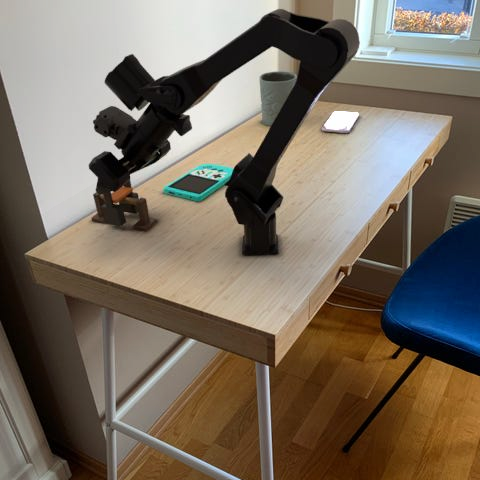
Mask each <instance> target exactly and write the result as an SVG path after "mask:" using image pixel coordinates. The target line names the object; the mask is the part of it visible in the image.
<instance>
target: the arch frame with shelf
mask: <svg viewBox="0 0 480 480" xmlns="http://www.w3.org/2000/svg"><path fill="white" fill-rule="evenodd" d="M126 165H127V164H126ZM126 165H125V166H126ZM103 195H104V201H105V204H104V205H102V206H101V208H102V212H103V216H104V220H105V223H104V224H105V225H109V226H116V227H123V226H124V225H125V224H127V220H126V219H127V218H126V214H125V213H127V214H132V215H133V214H134V215H138V209H137V205H133V204H127V203H121V202H119V201H121V200H122V199H123V198H124V197H130V198H136V199H140V196H139V193H138V192H134V189H133V187H132V182H131V179H130V180H129V181H128V182H127V183H126V184H125V185H124V186H123V187H121V188H120V189H119V190H117V191H116V192H113V191H111V192H108V193H105V194H103Z"/></svg>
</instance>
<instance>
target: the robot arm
mask: <svg viewBox="0 0 480 480" xmlns="http://www.w3.org/2000/svg"><path fill="white" fill-rule="evenodd" d="M360 44H361V41H360V36H359V32H358V30H357V28H356V26H354V24H353V23H352V22H351V21H349V20H347V19H343V18H338V19H333V20H331V21H329V20H325V19H322V18H319V17H313V16H309V15H303V14H299V13H298V14H297V13H294V12H291V11H288V10H287V9H285V8H284V9H283V8H277V9H274V10H272V11H269V12H268V13H266V14H265V15H263V16H262V17H261V18H260V20H258V22H256V23H254V24H253V25H251V27H249V28H248V29H246V30H245V31H244V32H242V33H240V34H239V35H238V36H236V37H235V38H234V39H232V40H230V41H229V42H228V43H226V44H225V45H223V46H222V47H221V48H220V49H218V50H216V51H215V52H214V53H212V54H210V55H209V56H207V58H205V59H203V60H200V61H197V62H195V63H193V64H190V65H188V66H185V67H183V68H181V69H179V70H177V71H174V72H173V73H171V74H169V75H163V76H161V77H159V78H157V79H156V80H155V79H154V77H153V76H152V75H151V74H150V73H149V72H148V71H147V69H146V68H145V67H144V66H143V65H142V64H141V62H140V60H139V59H138V58H137V57H136V55H135V54H133V53H131V54H128V55H125V56H124V58H123V59H122V61H120V62H119V63H118V64H117V65H116V66H115V67H113V69H112V70H111V71H109V72H108V73H107V75H106V76H105V79H104V85H106V87H107V88H108V89H109V90H110V91H111V92H112V93H113V94H114V95H115V96H116V97H117V98H118V99H119V100H120V102H121V103H122V104H123V105H124V106H125V107H126V108H127V109H128V110H129V111H130V112H132V111H134V109H136V111H139V112H140V111H141V110H143V109H144V108H145V107H146V108H145V110H144V111H143V112H142V114H141V115H140V116H139V118H138V119H137V120H136V119H135V118H134V117H133V116H132V115H131V114H129V113H128V112H126V111H124V110H122V109H120V108H119V107H117V106H115V105H110V106H108V107H105V108H104V109H102V110H100V111H99V112H98V114H97V115H96V116H95V119H93V120H92V124H93V130H94V131H95V132H96V134H98V135H100V136H102V137H103V138H108V137H109V138H110V139H112V140H114V141H115V142H114V143H113V146H114V147H115V148H116V149H118V150H121V151H120V152H121V155H122V156H123V157H121V158H119V159H118V158H117V157H116V155H115V154H113V153H112V151H106V150H105V151H103V152H101V153H99V154H98V155H96V156H94V157H93V158H92V159H91V160H90V162H89V163H88V169H89V170H90V172H92V174H93V175H94V176H95V177H96V178H97V181H96V187H95V193H96V192H97V193H98V194H99V195H102V194H105V193H108V192H111V193H113V192H116V191H117V190H119V189H120V188H121V187H124V185H125V184H126V183H127V182H128V181H129V180H130V181H131V175H132V174H134V173H137V172H139V171H141V170H143V169H145V168H147V167H150V166H152V165H154V164H156V163H157V162H159V161H160V160H162V159H163V158H164V157H165V156H167V154H169V152H170V151H171V150H172V147H171V142H170V140H168V139H169V138H170V137H171V136H172V134H173V133H174V132H175V133H177V134H178V136H180V137H183V136H185V135H186V134H187V133H189V132H190V131H192V130H193V125H192V121H191V116H190V115H189V114H185V113H186V112H188V111H189V110H191V109H192V108H194V107H195V106H197V105H199V104H200V103H201V102H202V101H204V100H205V99H206V98H207V97H208V96H209V95H210V94H211V92H213V91H214V90H215V88H216V87H217V86H218V85H219V83H220V82H222V81H223V80H224V79H226V78H227V77H228V76H230V75H231V74H233V73H234V72H237V70H239V69H241V68H242V67H243V66H245V65H246V64H248V63H250V62H251V61H252V60H255V58H257V57H258V56H260V55H262V54H263V53H264V52H266V51H268V50H270V49H271V48H274V49H278V50H280V51H281V52H283V53H284V54H286V55H288V56H289V57H290V58H292V59H294V60H297V61H299V65H298V69H297V74H296V76H297V79H296V82H295V85H294V87H293V88H292V90H291V92H290V94H289V96H288V97H287V99H286V101H285V103H284V104H283V106H282V108H281V110H280V111H279V113H278V115H277V117H276V118H275V120H274V122H273V124H272V125H271V126H269V128H268V131H267V133H266V134H265V136H264V138H263V139H262V141H261V142H260V145H259V147H258V148H257V150H256V151H255V154H254V155H253V154H251V153H250V152H249V153H247V154H246V155H244V156H243V158H242V159H241V160H239V162H238V163H236V164H235V166H234V167H233V168H234V169H233V172H232V175H231V177H230V179H229V180H228V181H227V182H226V183H225V184H224V185H223V186H225V187H226V189H225V192H224V197H225V199H226V202H227V204H228V205H229V207H230V208H231V210H232V212H233V215H234V218H235V220H236V222H237V224H238V225H241V226H243V236H242V245H241V255H243V256H263V255H265V256H266V255H278V254H279V253H280V247H279V234H278V233H277V213H276V212H277V210H278V209H279V208H281V206H282V203H283V200H284V196H283V195H282V194H281V192H280V191H279V190H278V189H277V188H276V187H275V185H273V182H274V180H275V178H276V173H277V169H278V165H279V163H280V161H281V159H282V158H283V156H284V155H285V153H286V151H287V150H288V148H289V146H290V145H291V143H292V142H293V140H294V138H295V137H296V136H297V134H298V132H299V130H300V129H301V127H302V126H303V124H304V122H305V120H306V119H307V117H308V115H310V112H311V110H312V109H313V107H314V106H315V104H316V103H317V101H318V99H320V96H321V95H322V93H323V92H324V91H325V90H326V89H327V87H328V86H329V85H330V84H331V83H332V82H333V81H334V80H335V79H336V77H338V76H339V74H340V73H341V72H342V71H343V70H344V69H345V68H346V67H347V65H348V64H349V63H350V62H351V61H352V60H353V58H354V57H356V55H357V53H358V51H359V49H360ZM126 164H127V165H126ZM125 165H126V166H125Z"/></svg>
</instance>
